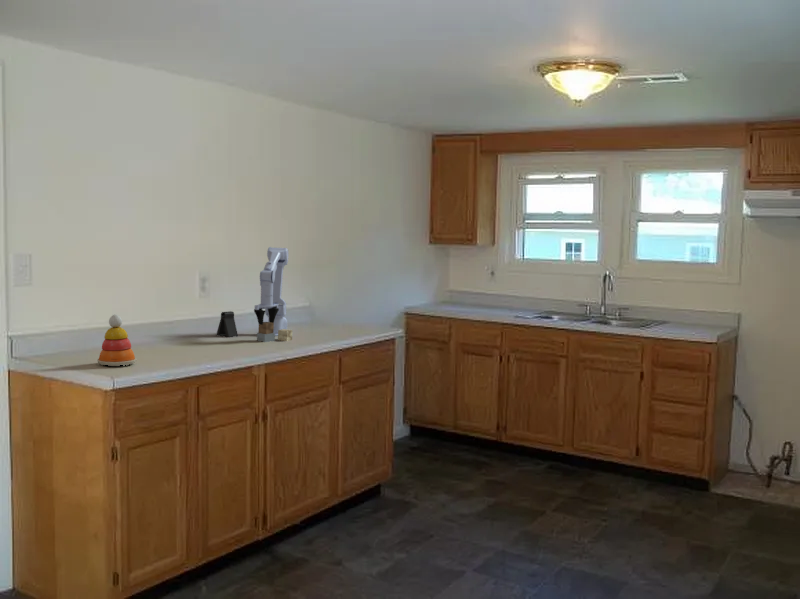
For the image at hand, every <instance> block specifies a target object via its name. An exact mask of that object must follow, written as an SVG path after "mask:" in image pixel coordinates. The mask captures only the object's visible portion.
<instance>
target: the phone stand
mask: <svg viewBox="0 0 800 599" xmlns="http://www.w3.org/2000/svg"><path fill="white" fill-rule="evenodd" d="M217 335H220V336H219V337H223V336H225V337H224V338H234V337H233V336H236V337H238V336H239V334H238V330H237V324H236V320H235V313H234V311H231V310H230V311H221V313H220V320H219V323H218V327H217V331H216V334H215V336H217Z"/></svg>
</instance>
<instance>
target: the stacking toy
mask: <svg viewBox="0 0 800 599" xmlns="http://www.w3.org/2000/svg"><path fill="white" fill-rule="evenodd" d="M122 324H123V320H122V317H121V316H120V315H118V314H112V315H111V316H110V317H109V319H108V325H109V326H110V328H108V329H107V330H106V332H105V334H104V340H103V342H102V344H101V351H100V352H99V357H98V358H97V363H98V364H99V365H101V366H103V365H108V366H107V367H121V366H120V365H126V366H129V364H130V365H133V364H135V363H136V362H137V358H136V357H135V352H134V351H133V349H132V344H131V341H130V339H129V336H128V332H127V331H126V330H125V329H124V328H123V327H121V326H122Z"/></svg>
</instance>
